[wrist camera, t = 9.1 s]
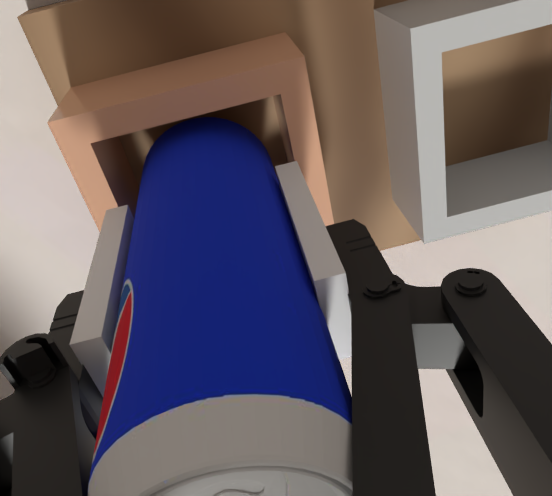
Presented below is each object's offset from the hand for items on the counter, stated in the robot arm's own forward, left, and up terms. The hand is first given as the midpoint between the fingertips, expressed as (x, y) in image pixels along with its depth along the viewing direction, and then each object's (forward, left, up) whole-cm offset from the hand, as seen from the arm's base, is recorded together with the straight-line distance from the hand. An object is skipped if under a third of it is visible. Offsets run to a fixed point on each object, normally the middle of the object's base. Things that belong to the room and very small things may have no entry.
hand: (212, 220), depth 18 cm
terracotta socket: (0, 0, -5) cm, 5 cm away
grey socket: (+12, 0, -5) cm, 13 cm away
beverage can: (0, 0, -4) cm, 4 cm away
